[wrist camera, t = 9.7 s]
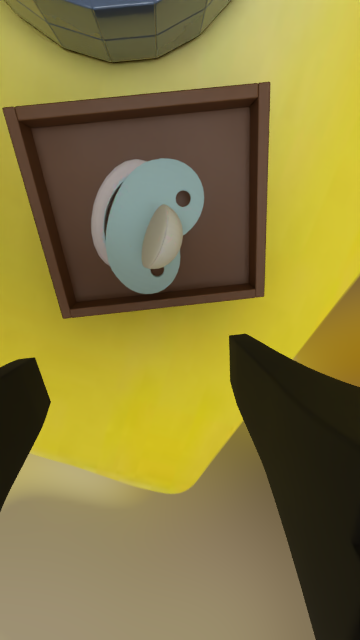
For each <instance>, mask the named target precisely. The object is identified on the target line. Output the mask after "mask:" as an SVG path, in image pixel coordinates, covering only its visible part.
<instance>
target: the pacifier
mask: <svg viewBox="0 0 360 640" xmlns="http://www.w3.org/2000/svg"><path fill="white" fill-rule="evenodd" d="M119 188H120V189H119ZM118 189H119V191H118V192H117V190H118ZM183 190H184V191H187V192H188V193H189V194H190V198H191V199H190V203H189V204H188V205H187V206H185V207H180V206H179V205H178V204H177V203H176V195H177V193H178V192H180V191H183ZM116 192H117V194H116V196H115V199H114V202H113V204H112V207H111V210H110V214H109V218H108V223H107V228H106V218H107V212H108V208H109V206H110V203H111V200H112V198H113V197H114V195H115V193H116ZM203 204H204V191H203V186H202V183H201V181H200V179H199V177H198V175H197V174H196V173H195V172H194V171H193V169H192V168H190V167H189V166H188V165H186V164H185V163H182V162H180V161H178V160H174V159H164V158H160V159H156V160H151V161H148V162H147V161H144V160H139V159H134V160H129V161H125V162H123V163H122V164H120V165H118V166H117V167H115V168H114V169H113V170H112V171H111V172H110V174H109V175H108V176H107V177H106V178H105V180H104V182H103V183H102V185H101V187H100V188H99V190H98V193H97V196H96V199H95V201H94V205H93V211H92V217H91V233H92V238H93V243H94V246H95V248H96V250H97V253H98V255H99V256H100V258H101V259H102V260H103V261H104V262H105V263H106V264H107V265H109V266H110V267H111V269H112V271H113V272H114V274H115V275H116V277H118V279H119V280H120V281H121V282H122V283H123V284H124V285H125V286H126V287H128V288H129V289H131V290H133V291H135V292H138V293H142V294H153V293H157V292H160V291H162V290H164V289H165V288H166V287H168V286H169V285H170V284H171V283H172V282H173V280H174V278H175V277H176V275H177V272H178V269H179V266H180V248H181V244H182V239H183V235H185V234H186V233H187V232H188V231H189V230H190V229H191V228H192V227H193V226H194V225H195V223H196V222H197V220H198V219H199V217H200V215H201V212H202V209H203ZM162 267H164V272H163V274H162V275H160V276H154V275H153V274H152V273H151V269H158V268H162Z"/></svg>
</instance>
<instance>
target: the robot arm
mask: <svg viewBox="0 0 360 640" xmlns="http://www.w3.org/2000/svg"><path fill="white" fill-rule="evenodd" d="M229 348H230V382H231V385H232V389H233V393H234V396H235V399H236V403H237V406H238V408H239V410H240V413H241V415H242V417H243V420H244V422H245V424H246V427H247V429H248V431H249V433H250V436H251V438H252V440H253V442H254V445H255V447H256V449H257V452H258V454H259V456H260V459H261V461H262V463H263V466H264V469H265V471H266V474H267V478H268V481H269V484H270V487H271V490H272V493H273V496H274V499H275V502H276V505H277V509H278V511H279V515H280V518H281V521H282V525H283V528H284V531H285V534H286V537H287V541H288V544H289V547H290V551H291V554H292V558H293V561H294V564H295V568H296V571H297V574H298V578H299V581H300V585H301V588H302V592H303V596H304V599H305V603H306V606H307V610H308V613H309V617H310V621H311V624H312V628H313V631H314V635H315V638H316V640H360V387H357V386H354V385H351V384H348V383H345V382H342V381H340V380H337V379H335V378H332V377H330V376H327V375H325V374H322V373H320V372H317V371H315V370H313V369H310V368H308V367H306V366H304V365H302V364H300V363H298V362H296V361H294V360H292V359H290V358H288V357H286V356H284V355H282V354H281V353H279V352H277V351H275V350H273V349H272V348H270V347H268V346H266V345H265V344H263V343H261V342H260V341H258V340H256V339H254V338H253V337H251V336H249V335H247V334H240V335H231V336H229ZM50 403H51V401H50V399H49V396H48V393H47V390H46V387H45V385H44V382H43V379H42V376H41V373H40V371H39V368H38V365H37V362H36V359H35V358H26V359H18V360H15V361H13V362H11V363H8V364H6V365H4V366H2V367H0V511H1V508H2V506H3V504H4V501H5V499H6V497H7V495H8V493H9V491H10V489H11V487H12V485H13V483H14V481H15V479H16V477H17V475H18V473H19V471H20V470H21V468H22V466H23V464H24V462H25V460H26V458H27V456H28V454H29V452H30V450H31V448H32V446H33V444H34V442H35V440H36V439H37V437H38V435H39V433H40V430H41V428H42V426H43V423H44V421H45V418H46V415H47V412H48V409H49V406H50Z"/></svg>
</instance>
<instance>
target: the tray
mask: <svg viewBox="0 0 360 640" xmlns="http://www.w3.org/2000/svg"><path fill="white" fill-rule="evenodd" d="M2 109H3V113H4V116H5V120H6V123H7V126H8V130H9V133H10V137H11V140H12V144H13V147H14V151H15V154H16V158H17V161H18V165H19V168H20V171H21V175H22V178H23V182H24V185H25V189H26V192H27V196H28V199H29V203H30V206H31V210H32V213H33V216H34V220H35V223H36V227H37V230H38V234H39V237H40V241H41V244H42V248H43V251H44V254H45V258H46V261H47V265H48V268H49V272H50V275H51V279H52V282H53V286H54V289H55V293H56V296H57V299H58V303H59V306H60V310H61V313H62V317H63V319H65V318H75V317H84V316H93V315H102V314H111V313H120V312H129V311H138V310H147V309H156V308H165V307H175V306H184V305H193V304H202V303H211V302H220V301H229V300H238V299H247V298H255V297H264V284H265V250H266V216H267V181H268V147H269V112H270V82H263V83H259V84H258V83H254V84H243V85H233V86H223V87H212V88H202V89H192V90H181V91H171V92H161V93H150V94H140V95H130V96H119V97H109V98H98V99H88V100H78V101H67V102H57V103H47V104H36V105H26V106H16V107H5V108H2ZM160 158H164V159H174V160H178V161H180V162H182V163H185V164H186V165H188V166H189V167H190V168H192V169H193V171H194V172H195V173H196V174H197V175H198V177H199V179H200V181H201V183H202V186H203V191H204V204H203V209H202V212H201V215H200V217H199V219H198V220H197V222H196V223H195V225H194V226H193V227H192V228H191V229H190V230H189V231H188V232H187V233H186V234H185V235H183V239H182V244H181V248H180V266H179V269H178V272H177V275H176V277H175V278H174V280H173V282H172V283H171V284H170V285H169V286H168V287H166V288H165V289H164V290H162V291H160V292H157V293H153V294H142V293H138V292H135V291H133V290H131V289H129V288H128V287H126V286H125V285H124V284H123V283H122V282H121V281H120V280H119V279H118V277H116V275H115V274H114V272H113V271H112V269H111V267H110V266H109V265H107V264H106V263H105V262H104V261H103V260H102V259H101V258H100V256H99V255H98V253H97V250H96V248H95V246H94V243H93V238H92V233H91V217H92V211H93V205H94V201H95V199H96V196H97V193H98V190H99V188H100V187H101V185H102V183H103V182H104V180H105V178H106V177H107V176H108V175H109V174H110V172H111V171H112V170H113V169H114V168H115V167H117V166H118V165H120V164H122V163H123V162H125V161H129V160H134V159H139V160H144V161H147V162H148V161H151V160H156V159H160ZM119 189H120V188H119ZM119 189H118V190H117V192H118V191H119ZM117 192H116V193H115V195H114V197H113V198H112V200H111V203H110V206H109V208H108V212H107V218H106V228H107V223H108V218H109V214H110V210H111V207H112V204H113V202H114V199H115V196H116V194H117ZM190 199H191V198H190V194H189V193H188V192H187V191H184V190H183V191H180V192H178V193H177V195H176V203H177V204H178V205H179V206H180V207H185V206H187V205H188V204H189V203H190ZM163 272H164V267H162V268H158V269H151V273H152V274H153V275H154V276H160V275H162V274H163Z"/></svg>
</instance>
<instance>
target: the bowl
mask: <svg viewBox="0 0 360 640" xmlns="http://www.w3.org/2000/svg"><path fill="white" fill-rule="evenodd" d="M5 1H6V2H7V3H8V5H9V6H10V7H11V8H12V9H13V11H14V12H15V13H16V14H17V15H18V16H20V17H21V18H23V19H24V20H25V21H27V22H28V23H30V24H31V25H32V26H34V27H35V28H37V29H38V30H39V31H41V32H42V33H44V34H45V35H46V36H48V37H49V38H50V39H52V40H53V41H55V42H56V43H57V44H59V45H60V46H62V47H64V48H65V49H69V50H72V51H75V52H79V53H82V54H85V55H88V56H92V57H95V58H98V59H101V60H105V61H108V62H119V61H130V60H140V59H151V58H156V57H157V58H158V57H160V56H162V55H164V54H166V53H167V52H169V51H171V50H173V49H175V48H177V47H179V46H180V45H182V44H184V43H186V42H188V41H190V40H192V39H193V38H195V37H197V36H199V35H200V34H201V33H202V32H203V31H204V30H205V29H206V27H207V26H208V25H209V24H210V23H211V22H212V21H213V20H214V18H215V17H216V16H217V15H218V14H219V13H220V12H221V11H222V10H223V8H224V7H225V6H226V5H227V4H228V3H229V2H230V1H231V0H5Z"/></svg>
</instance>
